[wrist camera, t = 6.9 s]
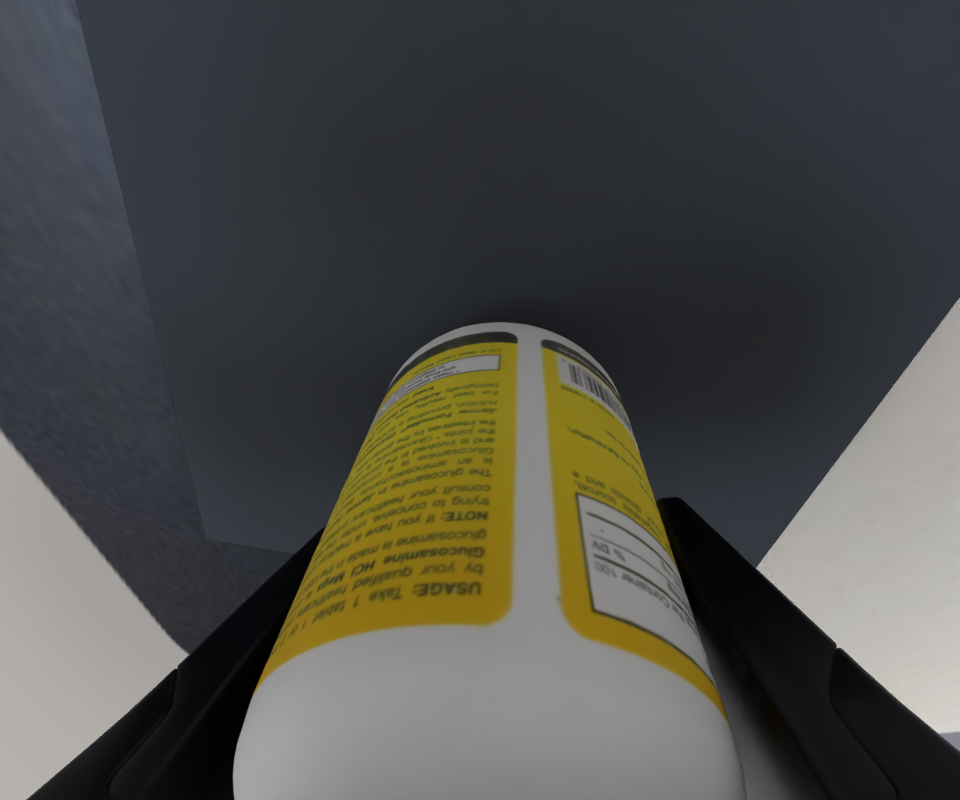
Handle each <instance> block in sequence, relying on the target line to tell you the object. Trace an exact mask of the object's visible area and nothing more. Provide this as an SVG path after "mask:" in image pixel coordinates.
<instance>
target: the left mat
mask: <svg viewBox="0 0 960 800" xmlns="http://www.w3.org/2000/svg"><path fill="white" fill-rule="evenodd" d="M76 4H77V8H78V13H79V17H80V21H81V25H82V29H83V33H84V37H85V41H86V46H87V50H88V54H89V58H90V62H91V66H92V70H93V74H94V79H95V83H96V87H97V91H98V95H99V99H100V103H101V107H102V112H103V116H104V120H105V124H106V128H107V132H108V136H109V140H110V145H111V149H112V153H113V157H114V161H115V165H116V169H117V173H118V178H119V182H120V186H121V190H122V194H123V198H124V202H125V206H126V211H127V215H128V219H129V223H130V227H131V231H132V235H133V239H134V244H135V248H136V252H137V256H138V260H139V264H140V268H141V272H142V277H143V281H144V285H145V289H146V293H147V297H148V301H149V305H150V310H151V314H152V318H153V322H154V326H155V330H156V334H157V338H158V343H159V347H160V351H161V355H162V359H163V363H164V367H165V371H166V376H167V380H168V384H169V388H170V392H171V396H172V400H173V404H174V408H175V413H176V417H177V421H178V425H179V429H180V433H181V437H182V441H183V446H184V450H185V454H186V458H187V462H188V466H189V470H190V474H191V479H192V483H193V487H194V491H195V495H196V499H197V503H198V507H199V512H200V516H201V520H202V524H203V528H204V532H205V536H206V539H209V540H215V541H221V542H227V543H233V544H239V545H245V546H251V547H257V548H263V549H269V550H275V551H281V552H287V553H293V554H295V553H296V552H298V551H299V550H300V549H301V548H302V547H303V546H304V545H305V544H306V543H307V542H308V541H309V540H310V539H311V538H312V537H313V536H314V535H315V534H316V533H317V532H318V531H320V530H321V529H322V528H323V527H325V526H327V523H328V521H329V519H330V516H331V514H332V511H333V509H334V507H335V505H336V503H337V501H338V499H339V496H340V494H341V491H342V489H343V487H344V485H345V483H346V481H347V478H348V476H349V474H350V472H351V470H352V468H353V466H354V463H355V461H356V459H357V456H358V454H359V452H360V449H361V447H362V445H363V443H364V441H365V438H366V436H367V434H368V432H369V429H370V427H371V425H372V422H373V420H374V418H375V416H376V413H377V411H378V409H379V406H380V404H381V402H382V400H383V398H384V396H385V394H386V392H387V390H388V388H389V386H390V384H391V382H392V380H393V378H394V377H395V375H396V374H397V373H398V371H399V370H400V368H401V367H402V366H403V365H404V363H405V362H406V361H407V360H408V359H409V358H410V357H411V356H412V355H413V354H414V353H416V352H417V351H418V350H419V349H420V348H422V347H423V346H425V345H426V344H428V343H429V342H431V341H432V340H434V339H436V338H437V337H439V336H441V335H444V334H446V333H448V332H450V331H452V330H455V329H458V328H461V327H465V326H469V325H475V324H481V323H493V322H507V323H519V324H526V325H531V326H535V327H539V328H542V329H546V330H548V331H551V332H553V333H556V334H558V335H560V336H562V337H565V338H567V339H568V340H570V341H572V342H573V343H575V344H576V345H578V346H579V347H581V348H582V349H584V350H585V351H586V352H587V353H588V354H590V355H591V356H592V357H593V358H594V359H595V360H596V361H597V362H598V363H599V364H600V365H601V366H602V367H603V369H604V370H605V371H606V373H607V374H608V376H609V377H610V378H611V380H612V381H613V383H614V385H615V387H616V389H617V391H618V394H619V396H620V399H621V401H622V404H623V406H624V409H625V411H626V414H627V416H628V419H629V421H630V425H631V429H632V432H633V435H634V437H635V441H636V443H637V445H638V449H639V453H640V457H641V460H642V462H643V465H644V468H645V471H646V474H647V478H648V481H649V484H650V486H651V489H652V492H653V495H654V498H655V502H656V501H657V499H659V498H665V497H679V498H681V499H683V500H684V501H685V502H686V503H687V504H688V505H689V506H690V507H691V508H692V509H693V510H694V511H695V512H696V513H697V514H699V515H700V516H701V517H702V518H703V519H704V520H705V521H706V522H707V523H708V524H709V525H710V526H711V527H712V528H713V529H715V530H716V531H717V532H718V533H719V534H720V535H721V536H722V537H723V538H724V539H725V540H726V541H727V542H728V543H729V544H731V545H732V546H733V547H734V548H735V549H736V550H737V551H738V552H739V553H740V554H741V555H742V556H743V557H744V558H745V559H747V560H748V561H749V562H750V563H751V564H752V565H753V566H754V567H755V568H756V567H757V566H758V564H759V563H760V562H761V560H762V559H763V558H764V556H765V555H766V554H767V552H768V551H769V550H770V548H771V547H772V546H773V544H774V543H775V542H776V540H777V539H778V538H779V537H780V535H781V534H782V533H783V531H784V530H785V529H786V527H787V526H788V525H789V523H790V522H791V521H792V519H793V518H794V517H795V515H796V514H797V513H798V511H799V510H800V509H801V507H802V506H803V505H804V503H805V502H806V501H807V499H808V498H809V497H810V495H811V494H812V493H813V491H814V490H815V489H816V487H817V486H818V485H819V483H820V482H821V481H822V479H823V478H824V477H825V475H826V474H827V473H828V471H829V470H830V469H831V467H832V466H833V465H834V463H835V462H836V461H837V460H838V458H839V457H840V456H841V454H842V453H843V452H844V450H845V449H846V448H847V446H848V445H849V444H850V442H851V441H852V440H853V438H854V437H855V436H856V434H857V433H858V432H859V430H860V429H861V428H862V426H863V425H864V424H865V422H866V421H867V420H868V418H869V417H870V416H871V414H872V413H873V412H874V410H875V409H876V408H877V406H878V405H879V404H880V402H881V401H882V400H883V398H884V397H885V396H886V394H887V393H888V392H889V390H890V389H891V388H892V387H893V385H894V384H895V383H896V381H897V380H898V379H899V377H900V376H901V375H902V373H903V372H904V371H905V369H906V368H907V367H908V365H909V364H910V363H911V361H912V360H913V359H914V357H915V356H916V355H917V353H918V352H919V351H920V349H921V348H922V347H923V345H924V344H925V343H926V341H927V340H928V339H929V337H930V336H931V335H932V333H933V332H934V331H935V329H936V328H937V327H938V325H939V324H940V323H941V321H942V320H943V319H944V317H945V316H946V315H947V313H948V312H949V311H950V310H951V308H952V307H953V306H954V304H955V303H956V302H957V300H958V299H959V298H960V0H76Z"/></svg>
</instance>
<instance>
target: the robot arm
mask: <svg viewBox="0 0 960 800" xmlns="http://www.w3.org/2000/svg"><path fill="white" fill-rule="evenodd" d="M656 505H657V507H658V510H659V513H660V516H661V520H662V523H663V525H664V528H665V531H666V534H667V537H668V540H669V542H670V546H671V550H672V553H673V556H674V559H675V562H676V565H677V568H678V571H679V574H680V577H681V580H682V583H683V586H684V589H685V593H686V595H687V598H688V601H689V604H690V607H691V610H692V613H693V616H694V619H695V622H696V625H697V628H698V631H699V634H700V637H701V640H702V643H703V645H704V648H705V651H706V654H707V657H708V661H709V664H710V667H711V671H712V674H713V676H714V678H715V681H716V684H717V687H718V690H719V693H720V696H721V700H722V702H723V705H724V708H725V710H726V713H727V716H728V719H729V723H730V726H731V729H732V732H733V735H734V739H735V743H736V747H737V750H738V754H739V757H740V761H741V764H742V768H743V772H744V779H745V786H746V795H747V800H960V751H959V750H958V749H956V748H955V747H954V746H952V745H951V744H950V743H949V742H948V741H946V740H945V739H944V738H943V737H941V736H940V735H939V734H938V733H937V732H936V731H934V730H933V729H932V728H931V727H929V726H928V725H927V724H926V723H925V722H923V721H922V720H921V719H920V718H919V717H917V716H916V715H915V714H914V713H913V712H911V711H910V710H909V709H908V708H907V707H905V706H904V705H903V704H902V703H901V702H900V701H898V700H897V699H896V698H895V697H894V696H893V695H892V694H891V693H890V692H888V691H887V690H886V689H885V688H884V687H883V686H882V685H881V684H880V683H878V682H877V681H876V680H875V679H874V678H873V677H872V676H871V675H870V674H868V673H867V672H866V671H865V670H864V669H863V668H862V667H861V666H860V665H859V664H858V663H857V662H855V661H854V660H853V659H852V658H851V657H850V656H849V655H848V654H847V653H846V652H845V651H844V650H843V649H841V648H837V649H836V647H837V645H836V643H835V642H834V641H833V640H832V639H831V638H830V637H829V636H828V635H826V634H825V633H824V632H823V631H822V630H821V629H820V628H819V627H818V626H817V625H816V624H815V623H814V622H813V621H812V620H810V619H809V618H808V617H807V616H806V615H805V614H804V613H803V612H802V611H801V610H800V609H799V608H798V607H797V606H796V605H794V604H793V603H792V602H791V601H790V600H789V599H788V598H787V597H786V596H785V595H784V594H783V593H782V592H781V591H780V590H779V589H777V588H776V587H775V586H774V585H773V584H772V583H771V582H770V581H769V580H768V579H767V578H766V577H765V576H764V575H763V574H761V573H760V572H759V571H758V570H757V569H756V568H755V567H754V566H753V565H752V564H751V563H750V562H749V561H748V560H747V559H745V558H744V557H743V556H742V555H741V554H740V553H739V552H738V551H737V550H736V549H735V548H734V547H733V546H732V545H731V544H729V543H728V542H727V541H726V540H725V539H724V538H723V537H722V536H721V535H720V534H719V533H718V532H717V531H716V530H715V529H713V528H712V527H711V526H710V525H709V524H708V523H707V522H706V521H705V520H704V519H703V518H702V517H701V516H700V515H699V514H697V513H696V512H695V511H694V510H693V509H692V508H691V507H690V506H689V505H688V504H687V503H686V502H685V501H684V500H683V499H681V498H679V497H665V498H659V499H657V501H656ZM325 528H326V526H325V527H323V528H322V529H321V530H320V531H318V532H317V533H316V534H315V535H314V536H313V537H312V538H311V539H310V540H309V541H308V542H307V543H306V544H305V545H304V546H303V547H302V548H301V549H300V550H299V551H298V552H296V553H295V554H294V555H293V556H292V557H291V558H290V559H289V560H288V561H287V562H286V563H285V564H284V565H283V566H282V567H281V568H280V569H279V570H278V571H277V572H276V573H274V574H273V575H272V576H271V577H270V578H269V579H268V580H267V581H266V582H265V583H264V584H263V585H262V586H261V587H260V588H259V589H258V590H257V591H256V592H255V593H254V594H252V595H251V596H250V597H249V598H248V599H247V600H246V601H245V602H244V603H243V604H242V605H241V606H240V607H239V608H238V609H237V610H236V611H235V612H234V613H233V614H232V615H230V616H229V617H228V618H227V619H226V620H225V621H224V622H223V623H222V624H221V625H220V626H219V627H218V628H217V629H216V630H215V631H214V632H213V633H212V634H211V635H210V636H208V637H207V638H206V639H205V640H204V641H203V642H202V643H201V644H200V645H199V646H198V647H197V648H196V649H195V650H194V651H193V652H192V653H191V654H190V655H189V656H188V657H187V658H185V660H183V661H182V662H181V663H180V664H179V665H178V668H177V669H174V670H173V671H172V672H171V673H170V674H169V675H168V676H166V677H165V678H164V680H162V681H161V682H160V683H159V684H158V685H157V686H156V687H155V688H154V689H153V690H152V691H151V692H149V693H148V694H147V695H146V696H145V697H144V698H143V699H142V700H141V701H140V702H139V703H138V704H137V705H135V706H134V707H133V708H132V709H131V710H130V711H129V712H128V713H127V714H126V715H124V716H123V717H122V718H121V719H120V720H119V721H118V722H117V723H115V724H114V725H113V726H112V727H111V728H110V729H108V730H107V731H106V732H105V733H104V734H103V735H102V736H100V737H99V738H98V739H97V740H96V741H95V742H94V743H92V744H91V745H90V746H89V747H88V748H87V749H85V750H84V751H83V752H82V753H81V754H80V755H78V756H77V757H76V758H75V759H74V760H72V761H71V762H70V763H69V764H68V765H67V766H65V767H64V768H63V769H62V770H61V771H60V772H58V773H57V774H56V775H55V776H54V777H53V778H51V779H50V780H49V781H48V782H47V783H46V784H44V785H43V786H42V787H41V788H40V789H38V790H37V791H36V792H35V793H34V794H33V795H31V796H30V797H29V798H28V799H27V800H234V789H233V768H234V758H235V753H236V748H237V743H238V740H239V736H240V733H241V730H242V727H243V724H244V721H245V717H246V714H247V711H248V708H249V705H250V702H251V699H252V696H253V693H254V691H255V689H256V686H257V684H258V682H259V680H260V677H261V675H262V673H263V670H264V668H265V666H266V664H267V661H268V659H269V657H270V654H271V652H272V650H273V647H274V645H275V643H276V641H277V638H278V636H279V634H280V631H281V629H282V627H283V625H284V622H285V620H286V618H287V615H288V613H289V611H290V608H291V606H292V604H293V601H294V599H295V597H296V594H297V592H298V590H299V587H300V585H301V583H302V580H303V578H304V576H305V573H306V571H307V569H308V566H309V564H310V562H311V560H312V557H313V555H314V553H315V551H316V548H317V546H318V544H319V542H320V539H321V537H322V535H323V532H324V530H325Z"/></svg>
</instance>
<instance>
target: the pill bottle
mask: <svg viewBox="0 0 960 800" xmlns="http://www.w3.org/2000/svg"><path fill="white" fill-rule="evenodd" d="M233 789H234V800H747V795H746V786H745V779H744V772H743V768H742V764H741V761H740V757H739V754H738V750H737V747H736V743H735V739H734V735H733V732H732V729H731V726H730V723H729V719H728V716H727V713H726V710H725V708H724V705H723V702H722V700H721V696H720V693H719V690H718V687H717V684H716V681H715V678H714V676H713V674H712V671H711V667H710V664H709V661H708V657H707V654H706V651H705V648H704V645H703V643H702V640H701V637H700V634H699V631H698V628H697V625H696V622H695V619H694V616H693V613H692V610H691V607H690V604H689V601H688V598H687V595H686V593H685V589H684V586H683V583H682V580H681V577H680V574H679V571H678V568H677V565H676V562H675V559H674V556H673V553H672V550H671V546H670V542H669V540H668V537H667V534H666V531H665V528H664V525H663V523H662V520H661V516H660V513H659V510H658V507H657V505H656V502H655V498H654V495H653V492H652V489H651V486H650V484H649V481H648V478H647V474H646V471H645V468H644V465H643V462H642V460H641V457H640V453H639V449H638V445H637V443H636V441H635V437H634V435H633V432H632V429H631V425H630V421H629V419H628V416H627V414H626V411H625V409H624V406H623V404H622V401H621V399H620V396H619V394H618V391H617V389H616V387H615V385H614V383H613V381H612V380H611V378H610V377H609V376H608V374H607V373H606V371H605V370H604V369H603V367H602V366H601V365H600V364H599V363H598V362H597V361H596V360H595V359H594V358H593V357H592V356H591V355H590V354H588V353H587V352H586V351H585V350H584V349H582V348H581V347H579V346H578V345H576V344H575V343H573V342H572V341H570V340H568V339H567V338H565V337H562V336H560V335H558V334H556V333H553V332H551V331H548V330H546V329H542V328H539V327H535V326H531V325H526V324H519V323H507V322H493V323H481V324H475V325H469V326H465V327H461V328H458V329H455V330H452V331H450V332H448V333H446V334H444V335H441V336H439V337H437V338H436V339H434V340H432V341H431V342H429V343H428V344H426V345H425V346H423V347H422V348H420V349H419V350H418V351H417V352H416V353H414V354H413V355H412V356H411V357H410V358H409V359H408V360H407V361H406V362H405V363H404V365H403V366H402V367H401V368H400V370H399V371H398V373H397V374H396V375H395V377H394V378H393V380H392V382H391V384H390V386H389V388H388V390H387V392H386V394H385V396H384V398H383V400H382V402H381V404H380V406H379V409H378V411H377V413H376V416H375V418H374V420H373V422H372V425H371V427H370V429H369V432H368V434H367V436H366V438H365V441H364V443H363V445H362V447H361V449H360V452H359V454H358V456H357V459H356V461H355V463H354V466H353V468H352V470H351V472H350V474H349V476H348V478H347V481H346V483H345V485H344V487H343V489H342V491H341V494H340V496H339V499H338V501H337V503H336V505H335V507H334V509H333V511H332V514H331V516H330V519H329V521H328V523H327V526H326V528H325V530H324V532H323V535H322V537H321V539H320V542H319V544H318V546H317V548H316V551H315V553H314V555H313V557H312V560H311V562H310V564H309V566H308V569H307V571H306V573H305V576H304V578H303V580H302V583H301V585H300V587H299V590H298V592H297V594H296V597H295V599H294V601H293V604H292V606H291V608H290V611H289V613H288V615H287V618H286V620H285V622H284V625H283V627H282V629H281V631H280V634H279V636H278V638H277V641H276V643H275V645H274V647H273V650H272V652H271V654H270V657H269V659H268V661H267V664H266V666H265V668H264V670H263V673H262V675H261V677H260V680H259V682H258V684H257V686H256V689H255V691H254V693H253V696H252V699H251V702H250V705H249V708H248V711H247V714H246V717H245V721H244V724H243V727H242V730H241V733H240V736H239V740H238V743H237V748H236V753H235V758H234V768H233Z"/></svg>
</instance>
